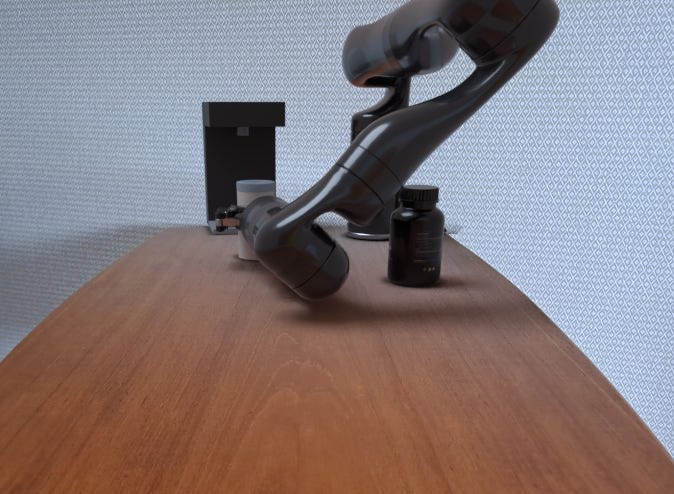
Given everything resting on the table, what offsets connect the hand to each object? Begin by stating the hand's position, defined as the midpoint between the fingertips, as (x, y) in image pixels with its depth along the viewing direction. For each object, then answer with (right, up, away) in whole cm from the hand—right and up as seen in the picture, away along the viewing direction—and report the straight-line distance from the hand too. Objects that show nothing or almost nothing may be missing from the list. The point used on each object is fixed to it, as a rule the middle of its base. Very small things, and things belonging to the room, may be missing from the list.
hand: (253, 210), depth 102 cm
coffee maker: (-3, +2, +24) cm, 24 cm away
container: (+1, -7, 0) cm, 7 cm away
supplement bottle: (+22, -12, -14) cm, 29 cm away
